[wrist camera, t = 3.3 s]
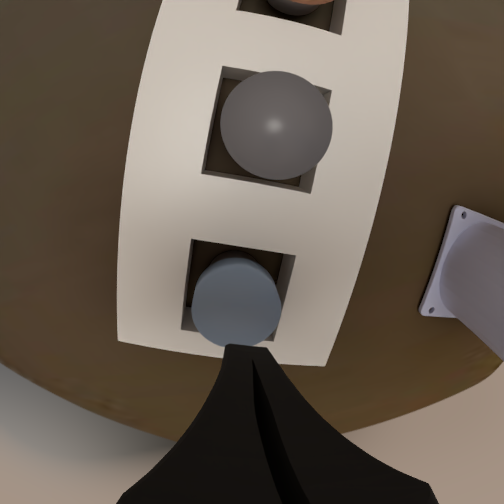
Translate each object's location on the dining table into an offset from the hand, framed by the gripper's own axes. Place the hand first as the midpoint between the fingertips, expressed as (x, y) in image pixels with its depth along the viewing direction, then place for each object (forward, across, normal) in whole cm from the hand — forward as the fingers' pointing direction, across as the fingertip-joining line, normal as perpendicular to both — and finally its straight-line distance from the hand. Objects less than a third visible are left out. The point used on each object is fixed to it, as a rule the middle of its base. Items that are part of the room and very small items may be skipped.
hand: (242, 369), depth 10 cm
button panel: (+8, 0, -8) cm, 11 cm away
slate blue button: (+8, 0, 0) cm, 8 cm away
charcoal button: (+7, 0, -8) cm, 11 cm away
